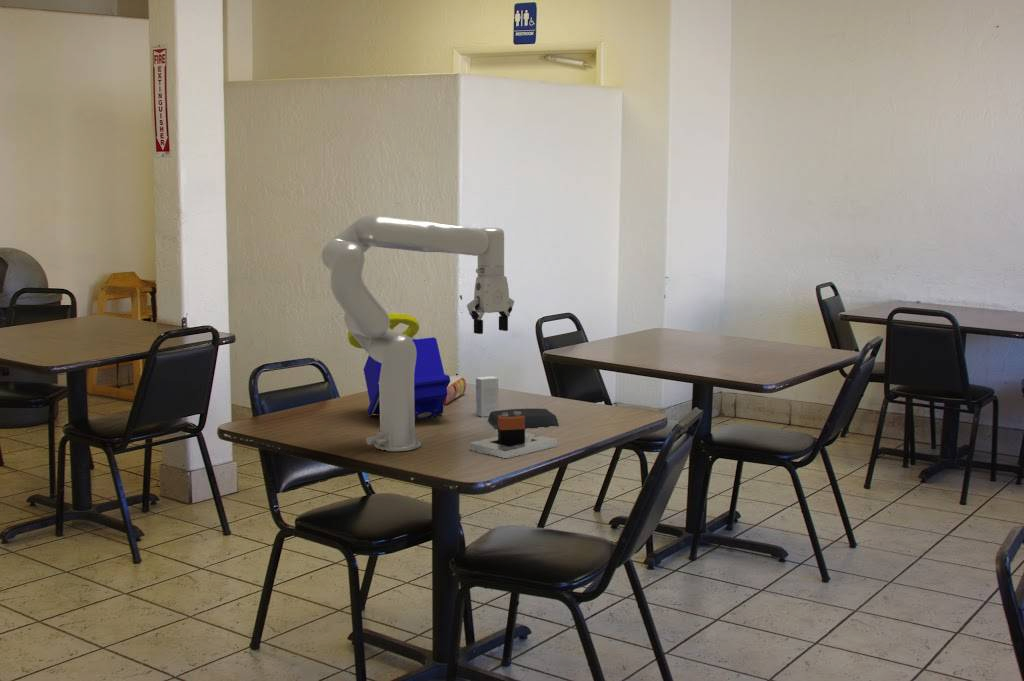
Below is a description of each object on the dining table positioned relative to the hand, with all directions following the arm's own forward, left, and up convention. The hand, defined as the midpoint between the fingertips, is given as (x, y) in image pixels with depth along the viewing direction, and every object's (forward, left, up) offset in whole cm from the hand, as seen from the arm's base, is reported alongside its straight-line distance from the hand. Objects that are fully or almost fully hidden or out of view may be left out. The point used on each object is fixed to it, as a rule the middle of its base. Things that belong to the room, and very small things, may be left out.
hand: (491, 332), depth 315 cm
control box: (-3, +39, -30) cm, 49 cm away
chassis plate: (-7, -15, -30) cm, 34 cm away
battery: (-7, -15, -30) cm, 34 cm away
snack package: (+28, +49, -31) cm, 64 cm away
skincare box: (+19, +22, -30) cm, 42 cm away
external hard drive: (+18, +5, -31) cm, 36 cm away
